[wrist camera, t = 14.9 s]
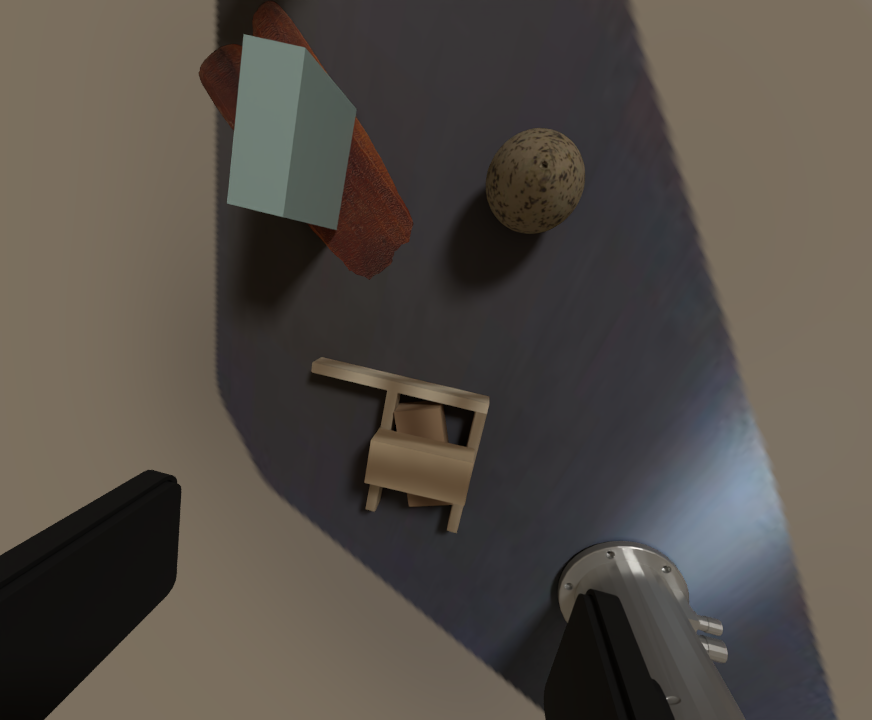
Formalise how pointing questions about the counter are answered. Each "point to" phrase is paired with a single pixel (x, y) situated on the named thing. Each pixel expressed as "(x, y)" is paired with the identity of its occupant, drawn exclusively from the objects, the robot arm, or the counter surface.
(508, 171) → the decorative egg
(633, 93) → the counter surface
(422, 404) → the offcut lower
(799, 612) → the counter surface
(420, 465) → the offcut upper
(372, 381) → the rack
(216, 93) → the wooden tablet
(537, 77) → the counter surface
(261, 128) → the tall board
